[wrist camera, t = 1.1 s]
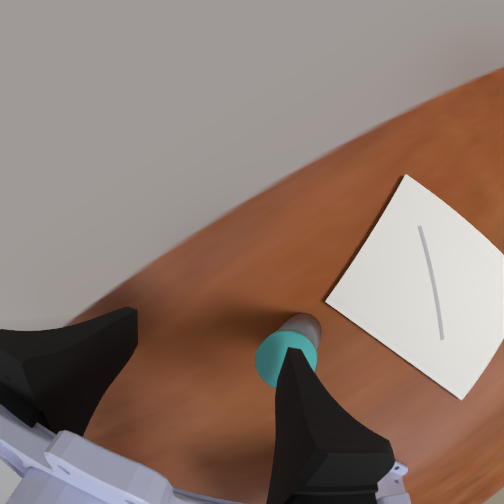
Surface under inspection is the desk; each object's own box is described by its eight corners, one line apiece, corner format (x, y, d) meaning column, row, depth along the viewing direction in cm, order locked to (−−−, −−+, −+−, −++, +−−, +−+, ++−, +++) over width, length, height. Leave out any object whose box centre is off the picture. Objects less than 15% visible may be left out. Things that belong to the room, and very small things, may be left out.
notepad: (527, 283, 16) (530, 283, 15) (459, 398, 17) (461, 400, 16) (404, 176, 20) (405, 174, 19) (325, 300, 21) (325, 301, 21)
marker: (330, 327, 21) (328, 356, 13) (306, 358, 21) (290, 400, 13) (298, 303, 22) (278, 320, 14) (274, 335, 22) (243, 365, 14)
